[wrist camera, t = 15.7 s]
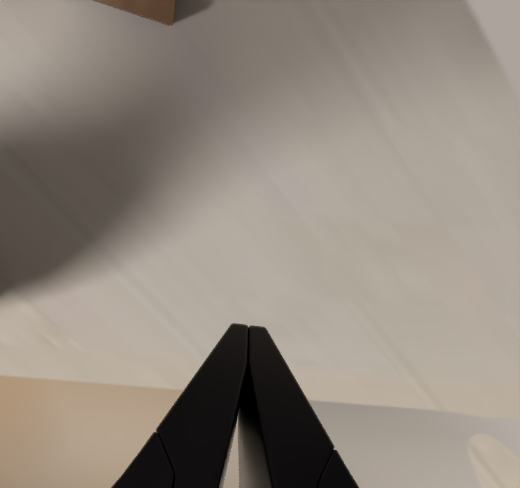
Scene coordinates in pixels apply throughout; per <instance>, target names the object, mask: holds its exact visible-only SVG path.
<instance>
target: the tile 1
mask: <svg viewBox="0 0 520 488" xmlns="http://www.w3.org/2000/svg"><path fill="white" fill-rule="evenodd" d="M93 1H96V2H99V3H102V4H105V5H108V6H111V7H114V8H117V9H120V10H123V11H126V12H129V13H132V14H135V15H138V16H141V17H144V18H147V19H150V20H153V21H156V22H159V23H162V24H165V25H173V17H174V9H175V2H176V0H93Z"/></svg>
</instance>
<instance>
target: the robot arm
mask: <svg viewBox="0 0 520 488" xmlns="http://www.w3.org/2000/svg"><path fill="white" fill-rule="evenodd" d="M237 417H238V451H239V488H359V487H358V486H357V484H356V482H355V480H354V479H353V477H352V475H351V474H350V472H349V470H348V469H347V467H346V465H345V464H344V462H343V460H342V459H341V457H340V455H339V454H338V451H337V450H334V445H333V443H332V441H331V440H330V438H329V436H328V435H327V433H326V431H325V429H324V428H323V426H322V424H321V422H320V421H319V419H318V417H317V415H316V414H315V412H314V410H313V409H312V407H311V405H310V403H309V402H308V400H307V398H306V396H305V395H304V393H303V391H302V390H301V388H300V386H299V384H298V383H297V381H296V379H295V377H294V376H293V374H292V372H291V371H290V369H289V367H288V365H287V364H286V362H285V360H284V358H283V357H282V355H281V353H280V352H279V350H278V348H277V346H276V345H275V343H274V341H273V340H272V338H271V336H270V334H269V333H268V331H267V329H266V328H265V327H261V326H252V325H251V326H249V328H248V326H247V325H244V324H236V323H233V324H231V325H230V327H229V328H228V329H227V331H226V332H225V334H224V335H223V336H222V338H221V339H220V341H219V342H218V343H217V345H216V346H215V348H214V349H213V350H212V352H211V353H210V355H209V356H208V357H207V359H206V360H205V362H204V363H203V364H202V366H201V367H200V369H199V370H198V371H197V373H196V374H195V376H194V377H193V378H192V380H191V381H190V383H189V384H188V385H187V387H186V388H185V390H184V391H183V392H182V394H181V395H180V397H179V398H178V399H177V401H176V402H175V403H174V405H173V406H172V408H171V409H170V410H169V412H168V413H167V415H166V416H165V417H164V419H163V420H162V422H161V423H160V425H159V426H158V427H157V429H156V432H154V433H153V434H152V435H151V437H150V438H149V439H148V441H147V442H146V444H145V445H144V446H143V448H142V449H141V451H140V452H139V453H138V455H137V456H136V457H135V458H134V460H133V461H132V463H131V464H130V465H129V466H128V468H127V469H126V470H125V472H124V473H123V474H122V476H121V477H120V478H119V479H118V480H117V482H116V483H115V484H114V485H113V486H112V487H111V488H223V484H224V480H225V475H226V470H227V465H228V461H229V456H230V451H231V447H232V442H233V437H234V432H235V428H236V422H237Z"/></svg>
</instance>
